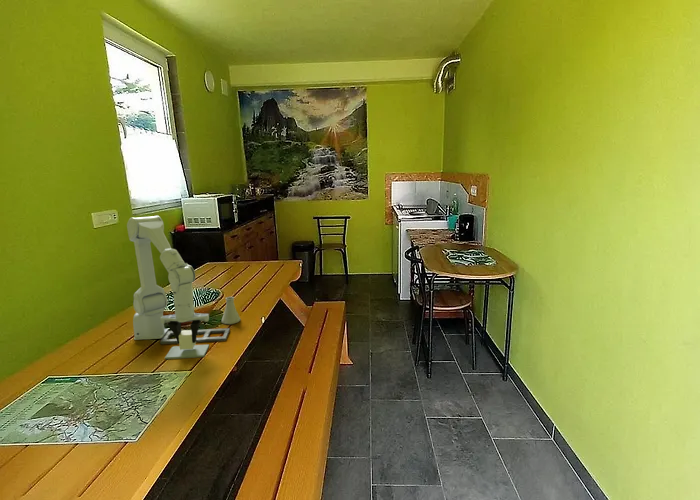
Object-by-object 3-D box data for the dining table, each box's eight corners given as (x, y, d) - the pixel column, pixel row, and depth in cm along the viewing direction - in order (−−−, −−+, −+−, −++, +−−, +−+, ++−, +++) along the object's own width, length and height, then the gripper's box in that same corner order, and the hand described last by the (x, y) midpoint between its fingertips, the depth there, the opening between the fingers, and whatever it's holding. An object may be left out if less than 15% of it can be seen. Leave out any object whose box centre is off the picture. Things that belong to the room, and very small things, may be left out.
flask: (217, 322, 150) (216, 299, 148) (230, 316, 157) (229, 294, 155) (231, 326, 147) (229, 301, 145) (244, 320, 153) (243, 296, 151)
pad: (165, 359, 120) (164, 357, 120) (172, 348, 128) (172, 346, 128) (204, 356, 122) (203, 355, 122) (209, 346, 130) (209, 344, 130)
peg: (179, 349, 123) (178, 335, 122) (183, 344, 127) (182, 330, 126) (192, 348, 123) (191, 334, 122) (195, 343, 127) (194, 329, 126)
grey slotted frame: (160, 344, 131) (160, 341, 131) (168, 333, 140) (168, 331, 139) (225, 340, 134) (225, 338, 134) (229, 330, 143) (229, 328, 143)
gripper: (155, 308, 117) (159, 348, 119) (204, 306, 119) (207, 346, 122) (163, 300, 124) (166, 339, 126) (209, 299, 126) (211, 336, 128)
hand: (187, 341), depth 124 cm, fingers closed on peg, 4 cm apart
